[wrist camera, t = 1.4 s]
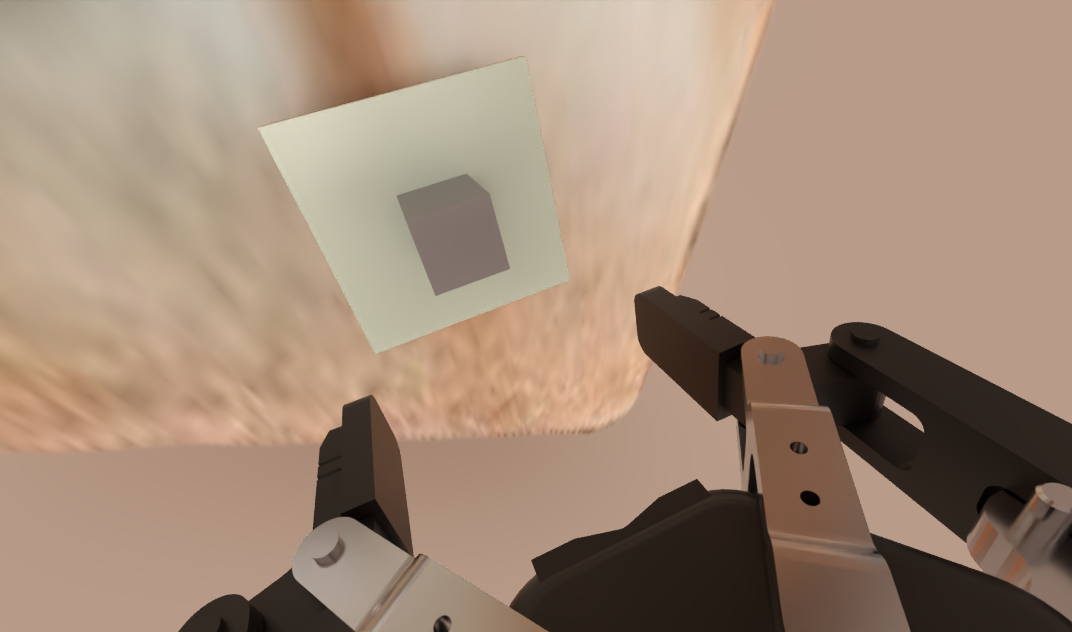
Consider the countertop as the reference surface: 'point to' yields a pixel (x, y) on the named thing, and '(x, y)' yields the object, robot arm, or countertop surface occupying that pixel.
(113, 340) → the countertop surface
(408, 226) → the lid
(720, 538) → the robot arm
